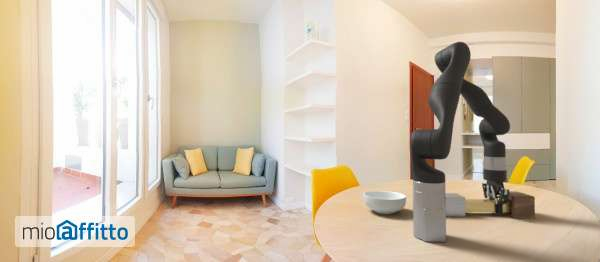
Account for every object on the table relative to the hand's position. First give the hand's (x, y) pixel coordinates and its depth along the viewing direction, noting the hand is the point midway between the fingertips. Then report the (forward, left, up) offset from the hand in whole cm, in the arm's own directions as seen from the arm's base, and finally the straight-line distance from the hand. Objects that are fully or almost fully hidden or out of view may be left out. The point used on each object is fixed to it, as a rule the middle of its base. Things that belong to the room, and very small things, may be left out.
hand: (495, 212), depth 108 cm
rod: (0, +5, 0) cm, 5 cm away
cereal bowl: (+2, +42, -1) cm, 42 cm away
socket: (0, -8, -1) cm, 8 cm away
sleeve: (0, +20, -1) cm, 20 cm away
